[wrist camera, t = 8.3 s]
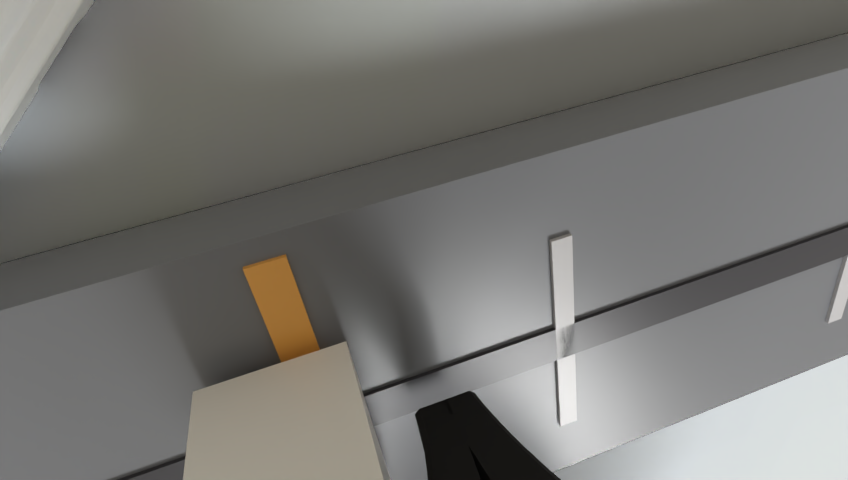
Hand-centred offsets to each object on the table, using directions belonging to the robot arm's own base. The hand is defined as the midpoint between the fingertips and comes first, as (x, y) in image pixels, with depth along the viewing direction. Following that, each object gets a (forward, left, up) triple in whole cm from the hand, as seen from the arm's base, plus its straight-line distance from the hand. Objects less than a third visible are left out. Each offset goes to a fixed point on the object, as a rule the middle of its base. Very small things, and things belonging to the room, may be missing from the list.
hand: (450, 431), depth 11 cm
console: (0, -3, -3) cm, 5 cm away
